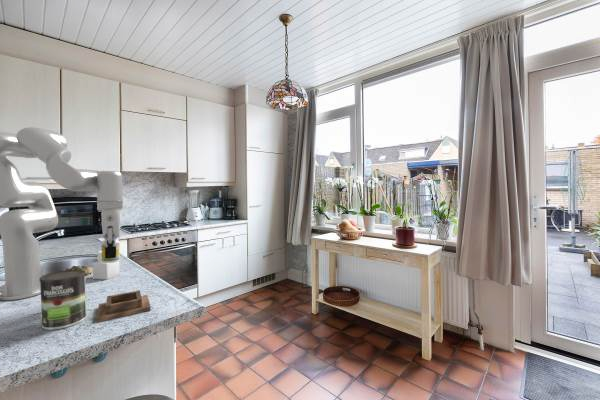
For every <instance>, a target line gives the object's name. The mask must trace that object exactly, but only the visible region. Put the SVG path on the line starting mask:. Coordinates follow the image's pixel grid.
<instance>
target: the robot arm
mask: <svg viewBox="0 0 600 400" xmlns="http://www.w3.org/2000/svg"><path fill="white" fill-rule="evenodd" d="M67 141H68V140H67V139H66V138H65V136H64V135H63V134H61V133H59V132H57V131H55V130H54V131H53V130H49V129H43V128H39V127H35V126H34V127H33V126H32V127H31V126H30V127H24V128H20V130H19V131H17V133H12V132H7V131H0V207H3V208H19V207H20V208H19V209H12V210H8V211H5V212H3V213H2V214H0V239H1V243H2V251H3V267H4V269H3V271H4V284H2V285H1V286H0V300H2V301H14V300H23V299H26V298H31V297H34V296H37V295H41V287H40V280H39V279H40V277H42V269H41V265H42V263H41V251H40V250H41V249H40V243H39V241H38V240H37V238H36V237H35V236H34V235H33V234H36V233H37V234H38V233H44V232H48V231H52V230H54V229H55V228H56V227H57V226H58V224H59V215H58V213H57V210H56V206H55V204H54V201H53V198H52V196H51V193H50V190H49V189H48V188H47V187H46V186H45V185H44V184H43V183H40V182H36V181H24V180H23V179H22V177H21V175H20V171H19V169H18V168H17V166H16V165H15V164H14V163H13V162H12V161H11V160H9V158H7V157H16V158H25V159H35V158H37V159H38V160H40V161H41V162H43V163H44V164H45V169H46V173H47V175H48V176H49V178H50V179H52V180H53V181H54V182H55V183H56V184H58V185H59V186H61V187H62V188H64V189H66V190H68V191H72V192H96V205H97V207H96V210H97V211H101V230H102V238H103V240H105V237H106V247H105V258H106V259H108V258H116V246H115V236H116V237H117V239H119V238H120V237H121V216H120V214H121V213H120V211H122V210H124V205H123V204H124V201H123V198H124V195H123V192H124V191H123V189H124V188H123V187H124V186H123V185H124V184H123V174H122V173H121V172H120V171H116V170H94V169H93V170H92V169H81V168H80V169H79V168H75V167H74V166H71V165H70V164H69V162H70V161H71V159H72V152H71V151H70V149H69V148H68V142H67ZM21 207H22V209H21ZM23 207H28V208H23ZM105 235H106V236H105ZM112 236H114V238H112ZM107 237H108V238H107Z"/></svg>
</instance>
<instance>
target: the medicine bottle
mask: <svg viewBox="0 0 600 400" xmlns="http://www.w3.org/2000/svg"><path fill="white" fill-rule="evenodd" d="M96 260H97V261H95V262H92V264H91V265H92V268H91V269H92V270H93V271H92V279H93V280H103V281H104V280H105V281H107V280H110V279H112V278H115V277H117V276H120V274H121V273H120V272H121V271H120V260H119V261H117V262H113V263H103V262H102V249H101V250H99V251H97V259H96Z"/></svg>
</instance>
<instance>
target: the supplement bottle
mask: <svg viewBox="0 0 600 400" xmlns="http://www.w3.org/2000/svg"><path fill="white" fill-rule="evenodd" d="M105 236H106V235H105ZM107 238H108V237H107ZM112 238H114V236H112ZM120 243H121V241H120V240H118V237H116V236H115V246H116V258H108V259H106V258H105V247H106V237H105V239H103V241H102V242H101V250H102V262H103V263H113V262H117V261H119V262H120V259H121V256H120V253H121V251H120V250H121V249H120Z"/></svg>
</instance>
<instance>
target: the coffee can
mask: <svg viewBox="0 0 600 400" xmlns="http://www.w3.org/2000/svg"><path fill="white" fill-rule="evenodd" d="M65 270H66V269H65ZM65 270H60V271H55V272H51V273H47V274H44V275H41V277H40V279H39V280H40V287H41V294H40V302H41V303H40V305H41V329H42V330H47V331H54V330H55V331H56V330H63V329H66V328H69V327H73V326H75V325H78V324H79V323H82V322H83V321H84V320H86V319H87V317H88V316H87V296H86V295H87V293H86V292H87V291H86V276H85V273H86V272H85V271H84V270H66V271H65Z"/></svg>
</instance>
